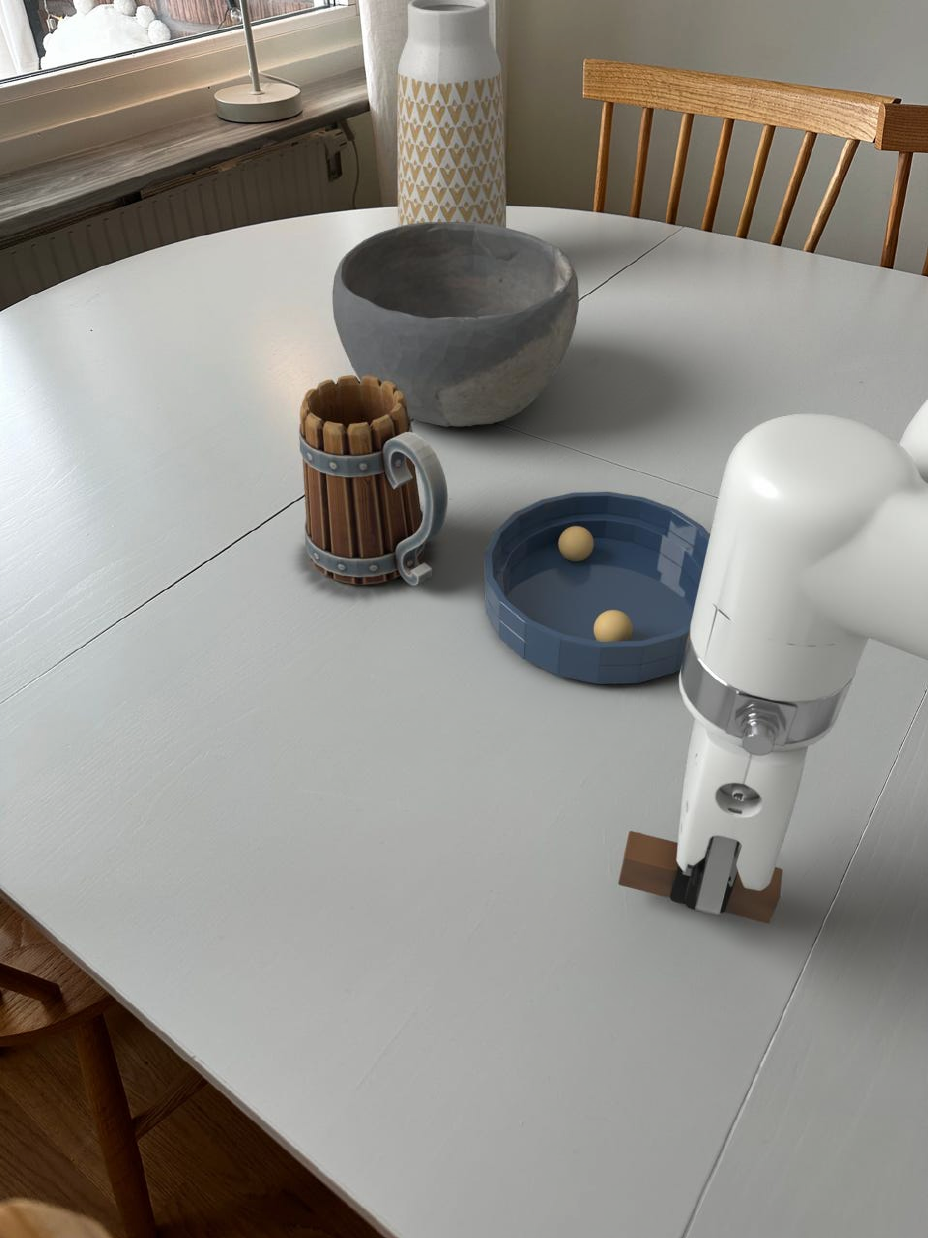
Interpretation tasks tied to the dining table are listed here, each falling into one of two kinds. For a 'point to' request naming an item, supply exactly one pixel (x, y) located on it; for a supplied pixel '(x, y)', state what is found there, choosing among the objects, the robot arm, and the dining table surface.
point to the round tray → (596, 585)
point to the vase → (450, 117)
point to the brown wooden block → (656, 866)
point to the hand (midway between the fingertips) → (699, 882)
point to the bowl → (457, 317)
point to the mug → (367, 483)
